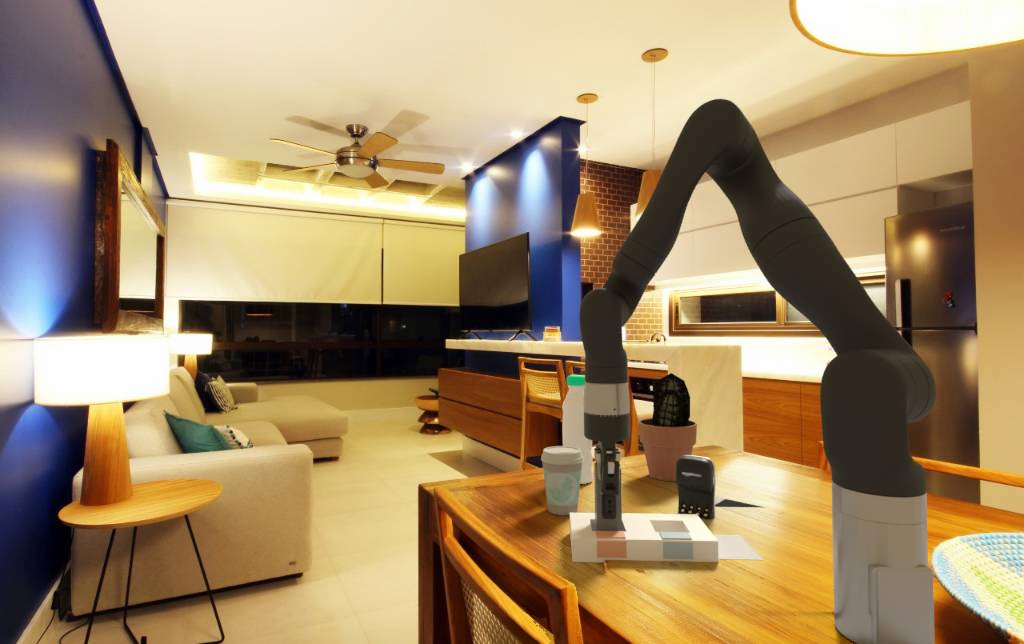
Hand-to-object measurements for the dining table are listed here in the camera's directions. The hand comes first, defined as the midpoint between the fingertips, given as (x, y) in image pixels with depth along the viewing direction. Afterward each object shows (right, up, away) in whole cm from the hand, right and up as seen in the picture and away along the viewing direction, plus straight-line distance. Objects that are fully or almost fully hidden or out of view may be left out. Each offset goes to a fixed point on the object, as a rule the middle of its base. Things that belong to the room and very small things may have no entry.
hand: (607, 513), depth 90 cm
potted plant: (+22, -6, +42) cm, 48 cm away
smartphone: (+30, -6, +17) cm, 35 cm away
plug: (0, -2, 0) cm, 2 cm away
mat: (+19, -5, -2) cm, 20 cm away
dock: (+5, -5, -1) cm, 7 cm away
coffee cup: (-6, -6, +18) cm, 20 cm away
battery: (+19, -6, +13) cm, 24 cm away
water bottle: (0, -6, +39) cm, 39 cm away
